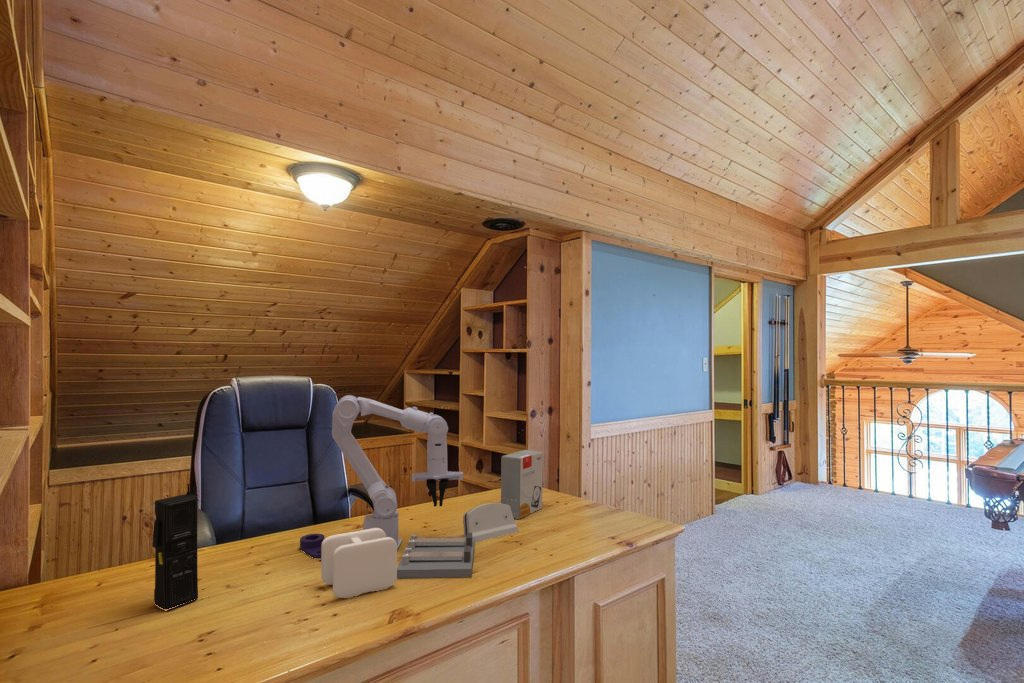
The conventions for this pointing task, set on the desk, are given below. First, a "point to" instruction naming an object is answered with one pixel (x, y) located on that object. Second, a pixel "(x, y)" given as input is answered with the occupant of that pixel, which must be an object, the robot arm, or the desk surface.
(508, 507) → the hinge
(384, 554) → the cable organizer
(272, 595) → the desk surface
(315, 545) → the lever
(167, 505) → the portable radio
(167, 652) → the desk surface
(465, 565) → the base plate
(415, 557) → the front strap
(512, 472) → the hard drive box
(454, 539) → the strip
